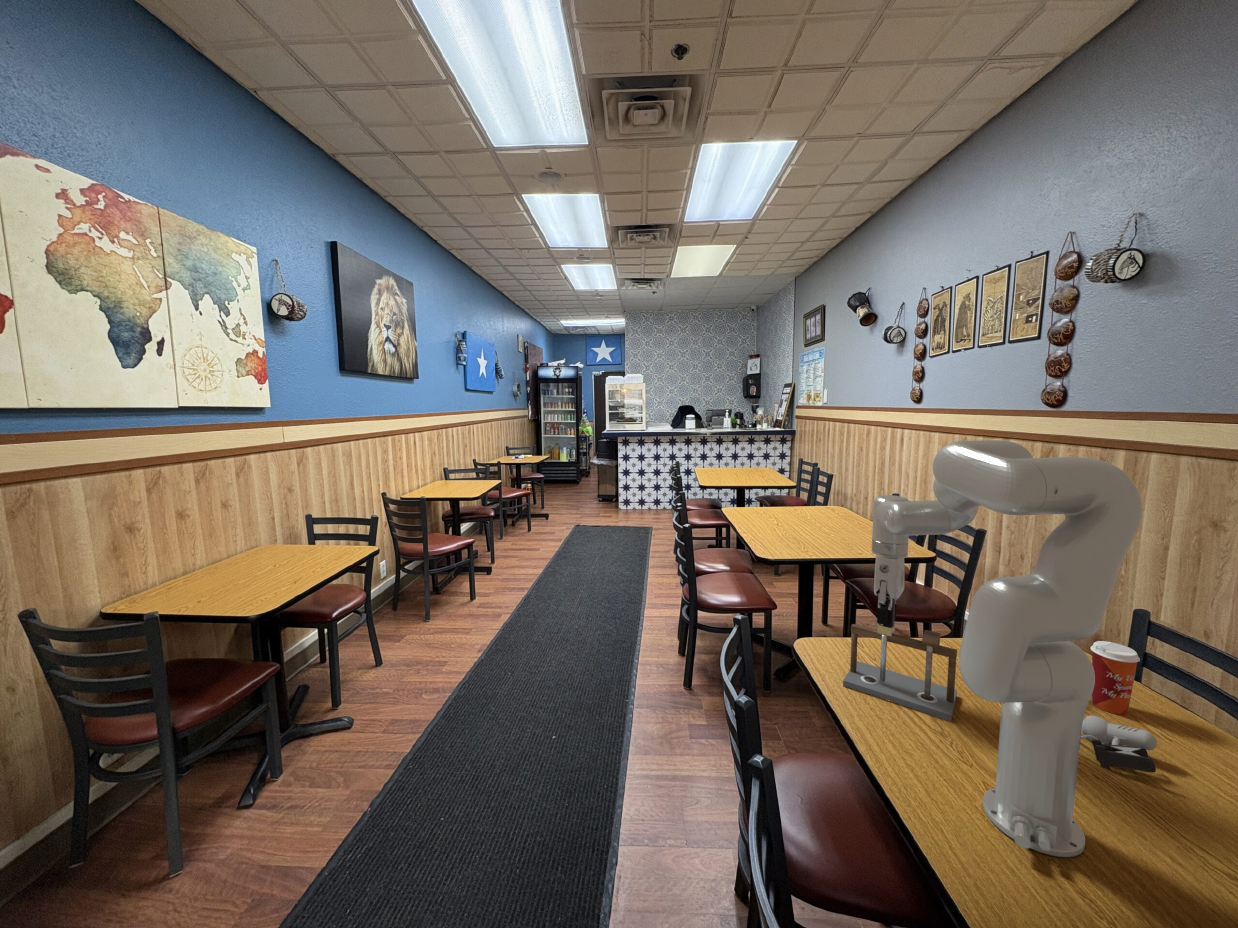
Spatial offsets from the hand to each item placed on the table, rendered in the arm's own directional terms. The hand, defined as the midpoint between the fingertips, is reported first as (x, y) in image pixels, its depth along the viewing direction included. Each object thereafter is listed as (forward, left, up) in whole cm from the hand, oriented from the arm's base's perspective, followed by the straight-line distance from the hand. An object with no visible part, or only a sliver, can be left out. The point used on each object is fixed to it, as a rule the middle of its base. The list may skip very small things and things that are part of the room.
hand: (886, 620), depth 116 cm
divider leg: (0, 0, -15) cm, 15 cm away
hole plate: (0, -3, -17) cm, 17 cm away
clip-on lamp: (+1, -36, -17) cm, 40 cm away
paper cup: (+22, -41, -17) cm, 50 cm away
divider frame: (0, -3, -15) cm, 16 cm away
